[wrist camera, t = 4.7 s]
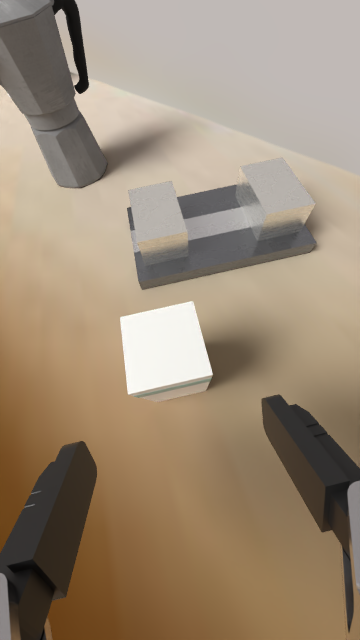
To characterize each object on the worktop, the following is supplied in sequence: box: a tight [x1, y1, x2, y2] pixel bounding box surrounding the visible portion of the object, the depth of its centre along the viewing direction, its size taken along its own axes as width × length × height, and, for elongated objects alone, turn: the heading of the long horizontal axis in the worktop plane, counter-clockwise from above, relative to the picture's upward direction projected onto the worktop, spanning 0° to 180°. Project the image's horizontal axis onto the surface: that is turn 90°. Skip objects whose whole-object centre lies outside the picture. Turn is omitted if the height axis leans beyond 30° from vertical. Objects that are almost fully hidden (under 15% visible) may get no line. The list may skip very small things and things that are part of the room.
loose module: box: [120, 301, 213, 402], centre depth 16 cm, size 5×4×9 cm
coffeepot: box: [0, 0, 108, 188], centre depth 26 cm, size 15×9×18 cm, turn 145°
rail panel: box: [127, 158, 316, 289], centre depth 24 cm, size 20×12×5 cm, turn 102°
